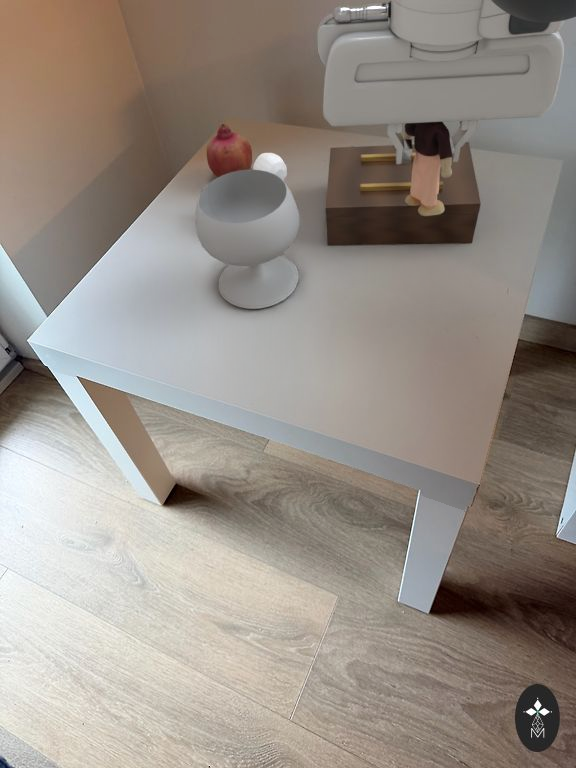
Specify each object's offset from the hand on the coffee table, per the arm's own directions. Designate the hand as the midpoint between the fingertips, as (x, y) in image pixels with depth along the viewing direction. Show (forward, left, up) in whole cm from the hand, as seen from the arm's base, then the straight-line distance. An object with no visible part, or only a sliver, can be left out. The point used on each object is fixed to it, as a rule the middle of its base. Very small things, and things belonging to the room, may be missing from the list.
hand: (426, 160), depth 54 cm
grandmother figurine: (0, 0, -5) cm, 5 cm away
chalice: (+22, -9, -25) cm, 34 cm away
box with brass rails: (+1, -25, -24) cm, 35 cm away
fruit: (+30, -36, -25) cm, 53 cm away
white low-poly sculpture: (+25, -25, -25) cm, 43 cm away
